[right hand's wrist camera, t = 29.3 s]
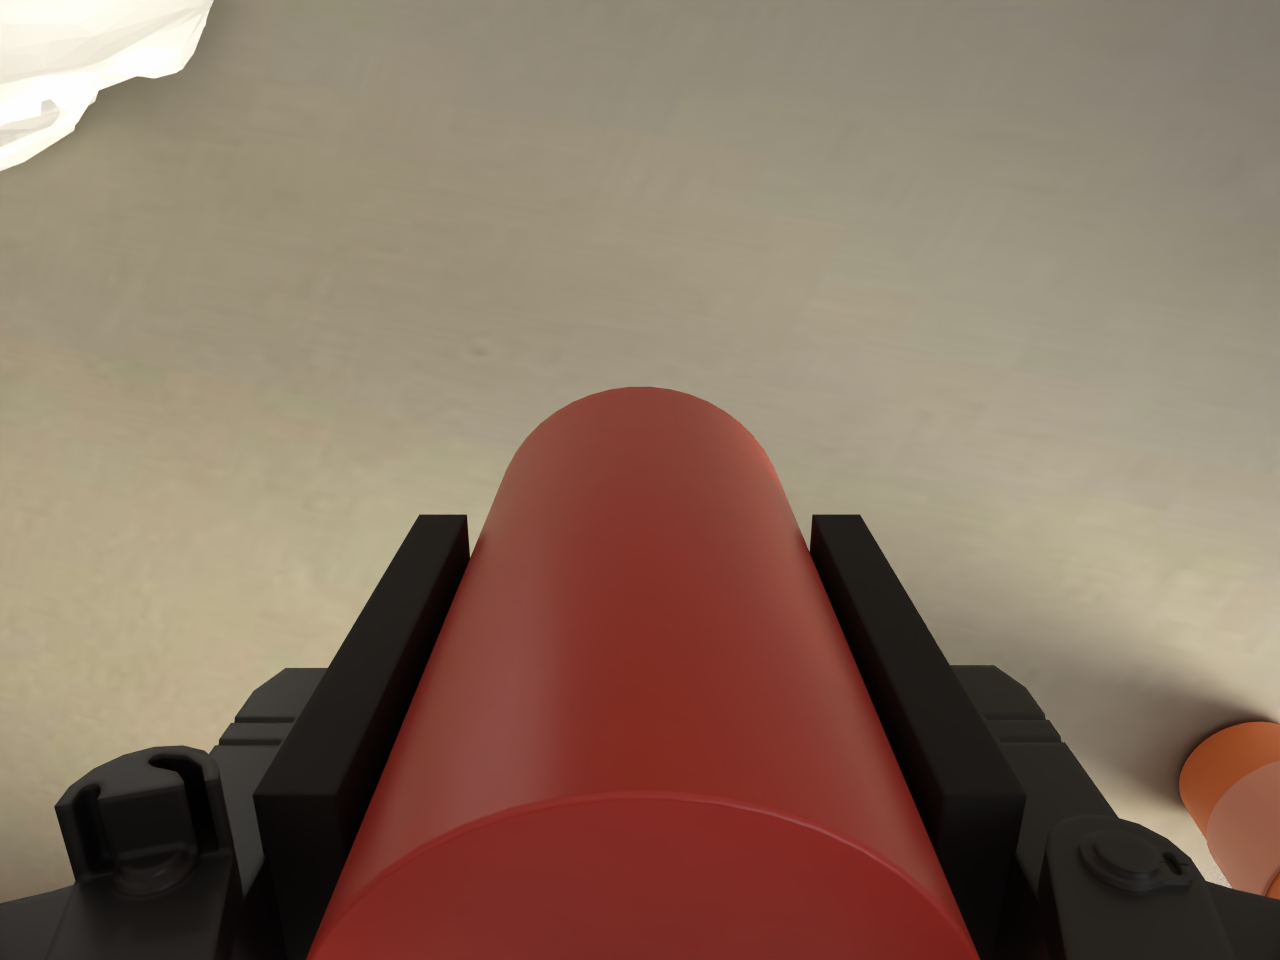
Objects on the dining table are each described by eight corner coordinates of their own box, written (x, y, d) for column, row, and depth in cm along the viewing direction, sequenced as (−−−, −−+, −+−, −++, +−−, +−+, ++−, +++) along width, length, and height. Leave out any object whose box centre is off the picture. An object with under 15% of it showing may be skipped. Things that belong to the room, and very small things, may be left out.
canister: (604, 696, 18) (563, 1371, 8) (437, 490, 17) (131, 1014, 7) (837, 561, 17) (1117, 1145, 7) (682, 326, 16) (761, 654, 6)
